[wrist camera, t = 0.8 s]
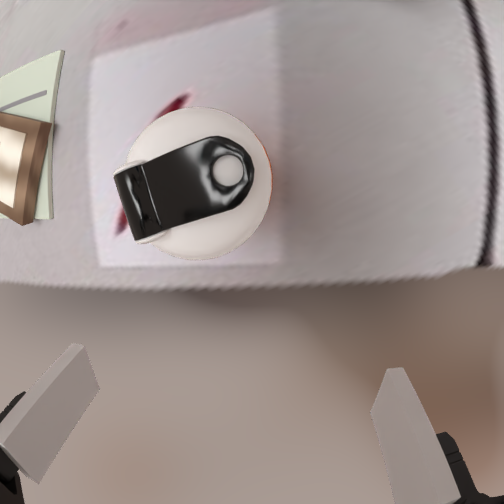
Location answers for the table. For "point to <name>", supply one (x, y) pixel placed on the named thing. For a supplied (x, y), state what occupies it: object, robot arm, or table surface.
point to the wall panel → (35, 113)
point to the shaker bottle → (195, 184)
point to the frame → (20, 164)
